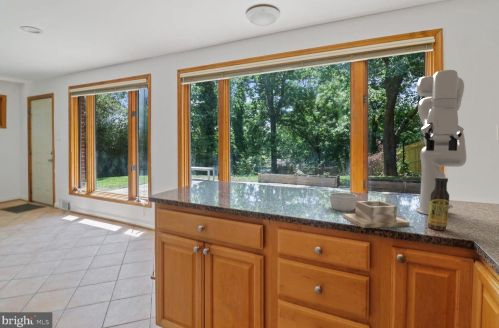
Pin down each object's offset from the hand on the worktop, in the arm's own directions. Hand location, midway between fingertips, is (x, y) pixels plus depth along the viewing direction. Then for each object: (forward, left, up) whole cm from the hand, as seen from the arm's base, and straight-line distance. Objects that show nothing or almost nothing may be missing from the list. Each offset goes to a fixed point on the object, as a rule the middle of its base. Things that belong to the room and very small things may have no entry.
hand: (441, 150), depth 108 cm
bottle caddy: (+18, -13, -30) cm, 37 cm away
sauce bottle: (0, 0, -30) cm, 30 cm away
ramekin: (+20, -37, -30) cm, 52 cm away
